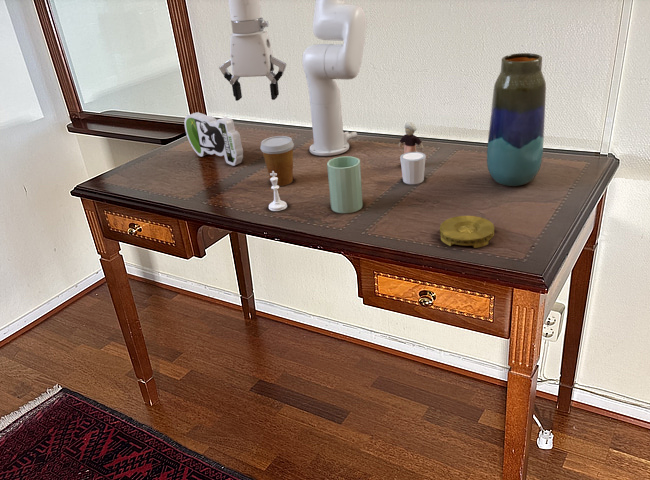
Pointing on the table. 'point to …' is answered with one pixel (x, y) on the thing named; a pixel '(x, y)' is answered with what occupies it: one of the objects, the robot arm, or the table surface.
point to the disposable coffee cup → (279, 158)
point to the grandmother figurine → (410, 139)
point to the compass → (467, 231)
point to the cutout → (214, 137)
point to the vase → (517, 120)
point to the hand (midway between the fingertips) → (256, 98)
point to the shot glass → (413, 167)
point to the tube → (345, 184)
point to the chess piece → (276, 195)
